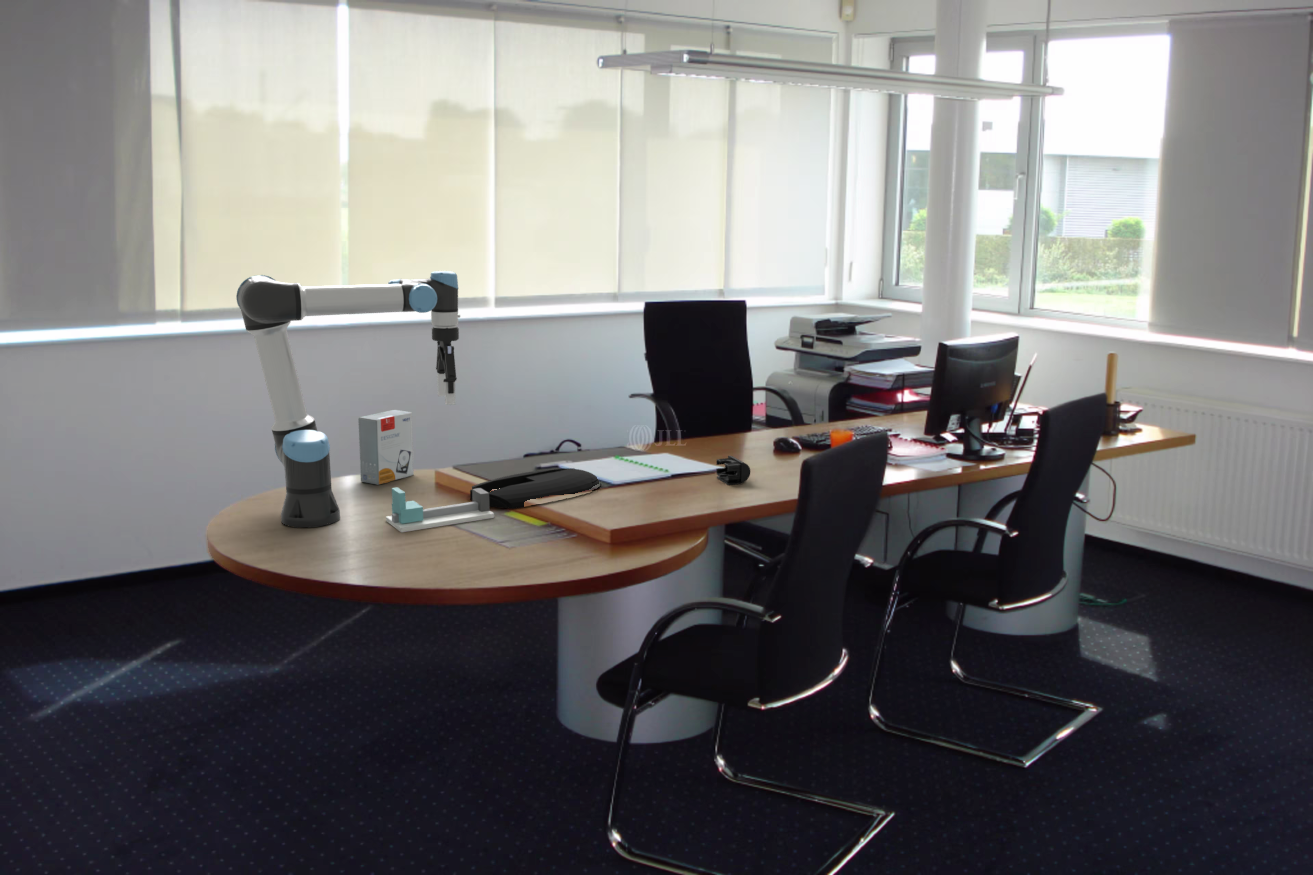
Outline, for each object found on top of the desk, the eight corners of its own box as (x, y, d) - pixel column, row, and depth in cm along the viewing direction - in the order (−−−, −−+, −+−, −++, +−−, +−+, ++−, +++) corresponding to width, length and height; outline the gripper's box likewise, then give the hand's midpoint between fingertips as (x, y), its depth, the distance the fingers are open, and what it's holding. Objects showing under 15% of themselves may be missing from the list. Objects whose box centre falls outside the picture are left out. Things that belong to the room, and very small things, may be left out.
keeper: (401, 523, 309) (400, 493, 307) (392, 517, 315) (390, 487, 313) (423, 520, 312) (422, 490, 310) (414, 513, 318) (412, 484, 316)
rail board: (401, 532, 307) (400, 509, 305) (386, 520, 317) (384, 498, 315) (494, 517, 320) (493, 495, 318) (476, 507, 330) (476, 485, 328)
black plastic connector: (750, 483, 355) (750, 462, 354) (728, 486, 353) (729, 463, 351) (736, 476, 364) (737, 454, 363) (715, 478, 362) (715, 456, 360)
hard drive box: (378, 486, 352) (375, 420, 347) (360, 482, 356) (356, 417, 351) (415, 474, 365) (412, 411, 360) (396, 471, 369) (393, 408, 364)
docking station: (619, 490, 350) (619, 473, 348) (502, 514, 324) (501, 497, 323) (570, 473, 368) (570, 458, 367) (456, 495, 343) (455, 479, 342)
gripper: (466, 331, 325) (467, 407, 330) (451, 320, 348) (452, 392, 353) (438, 332, 323) (440, 408, 327) (425, 321, 346) (426, 393, 350)
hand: (446, 400), depth 340 cm, fingers open, 13 cm apart
